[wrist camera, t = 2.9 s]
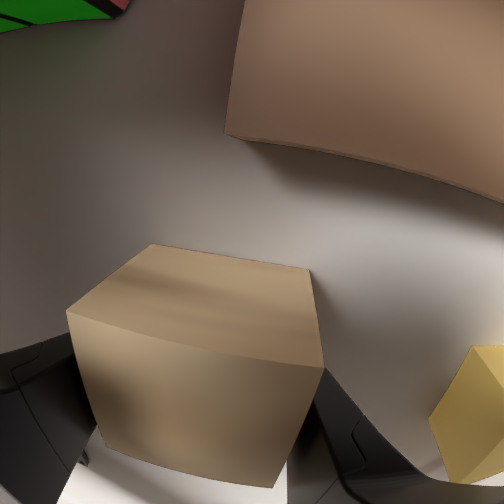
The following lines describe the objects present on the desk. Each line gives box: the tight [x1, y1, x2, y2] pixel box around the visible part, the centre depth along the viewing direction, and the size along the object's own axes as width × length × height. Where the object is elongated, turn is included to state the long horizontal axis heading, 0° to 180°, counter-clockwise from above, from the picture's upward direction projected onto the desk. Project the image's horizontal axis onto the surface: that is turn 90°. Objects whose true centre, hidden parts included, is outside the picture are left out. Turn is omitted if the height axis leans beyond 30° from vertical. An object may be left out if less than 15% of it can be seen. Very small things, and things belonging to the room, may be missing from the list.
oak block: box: [66, 244, 325, 488], centre depth 8 cm, size 5×5×4 cm
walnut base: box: [224, 0, 504, 204], centre depth 4 cm, size 12×12×2 cm
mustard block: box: [428, 346, 504, 484], centre depth 8 cm, size 4×4×4 cm
